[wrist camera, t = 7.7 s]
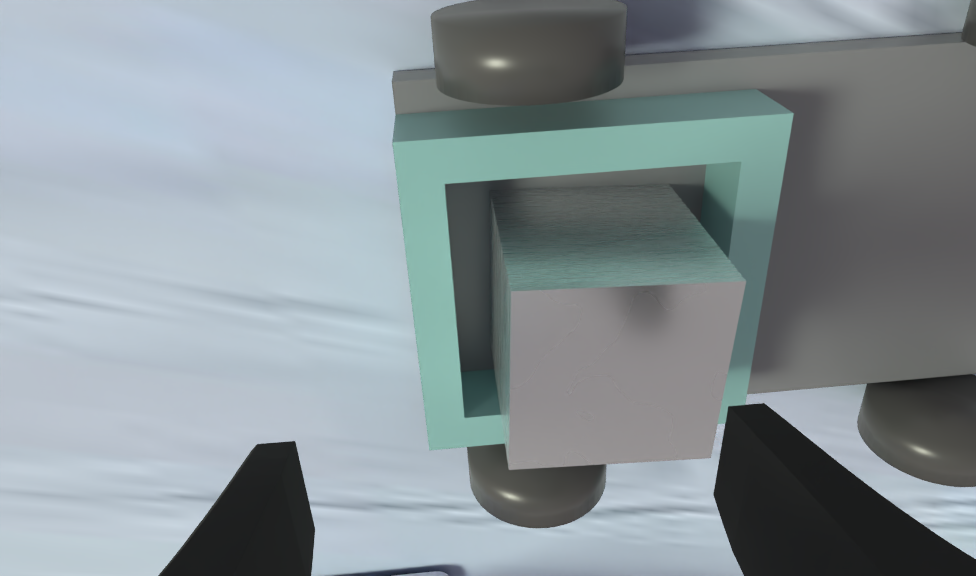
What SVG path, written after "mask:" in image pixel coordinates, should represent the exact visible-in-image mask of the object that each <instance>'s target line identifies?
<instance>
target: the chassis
mask: <svg viewBox="0 0 976 576" xmlns="http://www.w3.org/2000/svg"><path fill="white" fill-rule="evenodd" d="M626 23H627V6H626V5H625V4H623V3H621V2H619V1H616V0H475V1H469V2H464V3H459V4H454V5H451V6H447V7H444V8H441V9H439V10H437V11H435V12H433V13H432V14H431V27H432V39H433V51H434V63H435V69H422V70H407V71H394V72H393V78H392V87H393V95H394V104H395V113H396V116H395V125H394V134H393V142H392V143H393V151H394V159H395V168H396V176H397V184H398V193H399V201H400V209H401V217H402V226H403V234H404V242H405V251H406V259H407V267H408V276H409V284H410V292H411V301H412V309H413V317H414V326H415V334H416V342H417V350H418V359H419V367H420V375H421V384H422V392H423V400H424V409H425V417H426V425H427V434H428V442H429V450H439V449H450V448H461V447H467V451H468V463H469V475H470V484H471V489H472V491H473V494H474V496H475V498H476V499H477V501H478V502H479V503H480V505H481V506H482V507H483V508H484V509H485V510H486V511H487V512H489V513H490V514H492V515H493V516H495V517H496V518H498V519H500V520H502V521H505V522H507V523H510V524H513V525H517V526H521V527H527V528H550V527H556V526H560V525H564V524H567V523H570V522H572V521H575V520H577V519H579V518H580V517H582V516H584V515H585V514H586V513H588V512H589V511H590V510H591V509H592V508H593V507H594V506H595V505H596V504H597V503H598V501H599V500H600V498H601V496H602V494H603V491H604V489H605V483H606V464H601V465H584V466H567V467H550V468H533V469H516V470H509V468H508V461H507V454H506V447H505V440H504V433H503V427H502V420H501V413H500V406H499V399H498V392H497V385H496V378H495V371H494V364H493V357H492V350H491V343H490V190H496V189H526V188H556V187H586V186H615V185H645V184H669V185H670V186H671V187H672V189H673V190H674V191H675V192H676V194H677V195H678V196H679V197H680V199H681V200H682V201H683V202H684V204H685V205H686V206H687V207H688V209H689V210H690V211H691V212H692V214H693V215H694V216H695V217H696V219H697V220H698V221H699V222H700V224H701V225H702V226H703V227H704V229H705V230H706V231H707V232H708V234H709V235H710V236H711V238H712V239H713V240H714V241H715V243H716V244H717V245H718V246H719V248H720V249H721V250H722V251H723V253H724V254H725V255H726V256H727V258H728V259H729V260H730V261H731V263H732V264H733V265H734V266H735V268H736V269H737V270H738V271H739V273H740V274H741V275H742V276H743V278H744V279H745V280H746V285H745V290H744V295H743V300H742V305H741V310H740V315H739V320H738V325H737V330H736V335H735V340H734V345H733V350H732V354H731V359H730V364H729V369H728V374H727V379H726V384H725V389H724V394H723V399H722V404H721V409H720V414H719V419H718V424H724V423H726V417H727V411H728V406H738V405H745V402H746V396H747V394H755V393H766V392H777V391H789V390H800V389H811V388H822V387H833V386H844V385H856V384H867V386H866V390H865V393H864V397H863V401H862V404H861V408H860V412H859V415H858V421H857V424H858V430H859V433H860V435H861V437H862V439H863V440H864V442H865V443H866V445H867V446H868V447H869V448H870V449H871V450H872V451H873V452H874V453H875V454H876V455H877V456H878V457H880V458H881V459H882V460H884V461H885V462H887V463H888V464H890V465H891V466H893V467H895V468H897V469H898V470H900V471H902V472H904V473H907V474H909V475H911V476H913V477H916V478H919V479H922V480H925V481H928V482H932V483H936V484H941V485H946V486H954V487H975V486H976V376H975V375H973V374H976V0H971V2H970V6H969V10H968V13H967V17H966V21H965V24H964V28H963V32H961V33H947V34H932V35H918V36H903V37H888V38H874V39H859V40H845V41H830V42H816V43H801V44H786V45H772V46H757V47H743V48H728V49H714V50H699V51H684V52H670V53H655V54H641V55H626V56H625V45H626Z"/></svg>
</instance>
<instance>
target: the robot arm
mask: <svg viewBox="0 0 976 576" xmlns="http://www.w3.org/2000/svg"><path fill="white" fill-rule="evenodd" d="M714 498H715V501H716V504H717V507H718V510H719V513H720V516H721V519H722V522H723V525H724V528H725V531H726V534H727V537H728V539H729V542H730V545H731V548H732V551H733V553H734V555H735V557H736V559H737V562H738V564H739V566H740V568H741V570H742V572H743V574H744V576H976V559H974V558H973V557H971V556H969V555H968V554H966V553H964V552H963V551H961V550H960V549H958V548H957V547H955V546H954V545H952V544H950V543H949V542H947V541H946V540H944V539H943V538H941V537H940V536H938V535H937V534H935V533H934V532H932V531H931V530H930V529H928V528H927V527H925V526H924V525H922V524H921V523H919V522H918V521H917V520H915V519H914V518H912V517H911V516H909V515H908V514H906V513H905V512H904V511H902V510H901V509H899V508H898V507H896V506H895V505H894V504H892V503H891V502H890V501H888V500H887V499H886V498H884V497H883V496H881V495H880V494H879V493H877V492H876V491H875V490H873V489H872V488H871V487H869V486H868V485H867V484H865V483H864V482H863V481H861V480H860V479H859V478H858V477H856V476H855V475H854V474H852V473H851V472H850V471H848V470H847V469H846V468H845V467H843V466H842V465H841V464H840V463H838V462H837V461H836V460H834V459H833V458H832V457H831V456H829V455H828V454H827V453H826V452H824V451H823V450H822V449H821V448H819V447H818V446H817V445H816V444H814V443H813V442H812V441H811V440H809V439H808V438H807V437H806V436H805V435H803V434H802V433H801V432H800V431H798V430H797V429H796V428H795V427H793V426H792V425H791V424H790V423H788V422H787V421H786V420H785V419H783V418H782V417H781V416H780V415H778V414H777V413H776V412H775V411H773V410H772V409H771V408H769V407H768V406H767V405H765V404H764V403H762V404H750V405H738V406H728V411H727V417H726V423H725V429H724V435H723V441H722V447H721V453H720V459H719V465H718V471H717V477H716V483H715V489H714ZM314 535H315V527H314V523H313V518H312V514H311V510H310V505H309V501H308V496H307V492H306V487H305V483H304V478H303V474H302V470H301V465H300V461H299V456H298V452H297V447H296V443H295V441H292V442H279V443H267V444H257V445H256V446H255V447H254V448H253V449H252V451H251V452H250V454H249V455H248V456H247V458H246V459H245V461H244V462H243V464H242V465H241V467H240V468H239V469H238V471H237V472H236V474H235V475H234V477H233V478H232V480H231V481H230V482H229V484H228V485H227V487H226V488H225V490H224V491H223V492H222V494H221V495H220V497H219V498H218V499H217V501H216V502H215V503H214V505H213V506H212V508H211V509H210V510H209V512H208V513H207V514H206V516H205V517H204V518H203V520H202V521H201V522H200V524H199V525H198V526H197V528H196V529H195V530H194V532H193V533H192V534H191V535H190V537H189V538H188V539H187V541H186V542H185V543H184V545H183V546H182V547H181V549H180V550H179V551H178V552H177V554H176V555H175V556H174V557H173V559H172V560H171V561H170V562H169V564H168V565H167V566H166V567H165V568H164V570H163V571H162V572H161V573H160V574H159V576H311V570H312V559H313V547H314ZM393 576H449V575H448V574H446V573H444V572H441V571H434V572H424V573H414V574H403V575H393Z"/></svg>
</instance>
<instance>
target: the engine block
mask: <svg viewBox="0 0 976 576" xmlns="http://www.w3.org/2000/svg"><path fill="white" fill-rule="evenodd" d="M745 285H746V280H745V279H744V278H743V276H742V275H741V274H740V273H739V271H738V270H737V269H736V268H735V266H734V265H733V264H732V263H731V261H730V260H729V259H728V258H727V256H726V255H725V254H724V253H723V251H722V250H721V249H720V248H719V246H718V245H717V244H716V243H715V241H714V240H713V239H712V238H711V236H710V235H709V234H708V232H707V231H706V230H705V229H704V227H703V226H702V225H701V224H700V222H699V221H698V220H697V219H696V217H695V216H694V215H693V214H692V212H691V211H690V210H689V209H688V207H687V206H686V205H685V204H684V202H683V201H682V200H681V199H680V197H679V196H678V195H677V194H676V192H675V191H674V190H673V189H672V187H671V186H670V185H669V184H645V185H615V186H586V187H556V188H526V189H496V190H490V343H491V350H492V357H493V364H494V371H495V378H496V385H497V392H498V399H499V406H500V413H501V420H502V427H503V433H504V440H505V447H506V454H507V461H508V468H509V470H516V469H533V468H550V467H567V466H584V465H601V464H618V463H635V462H652V461H669V460H685V459H702V458H711V454H712V449H713V444H714V439H715V434H716V429H717V424H718V419H719V414H720V409H721V404H722V399H723V394H724V389H725V384H726V379H727V374H728V369H729V364H730V359H731V354H732V350H733V345H734V340H735V335H736V330H737V325H738V320H739V315H740V310H741V305H742V300H743V295H744V290H745Z"/></svg>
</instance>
